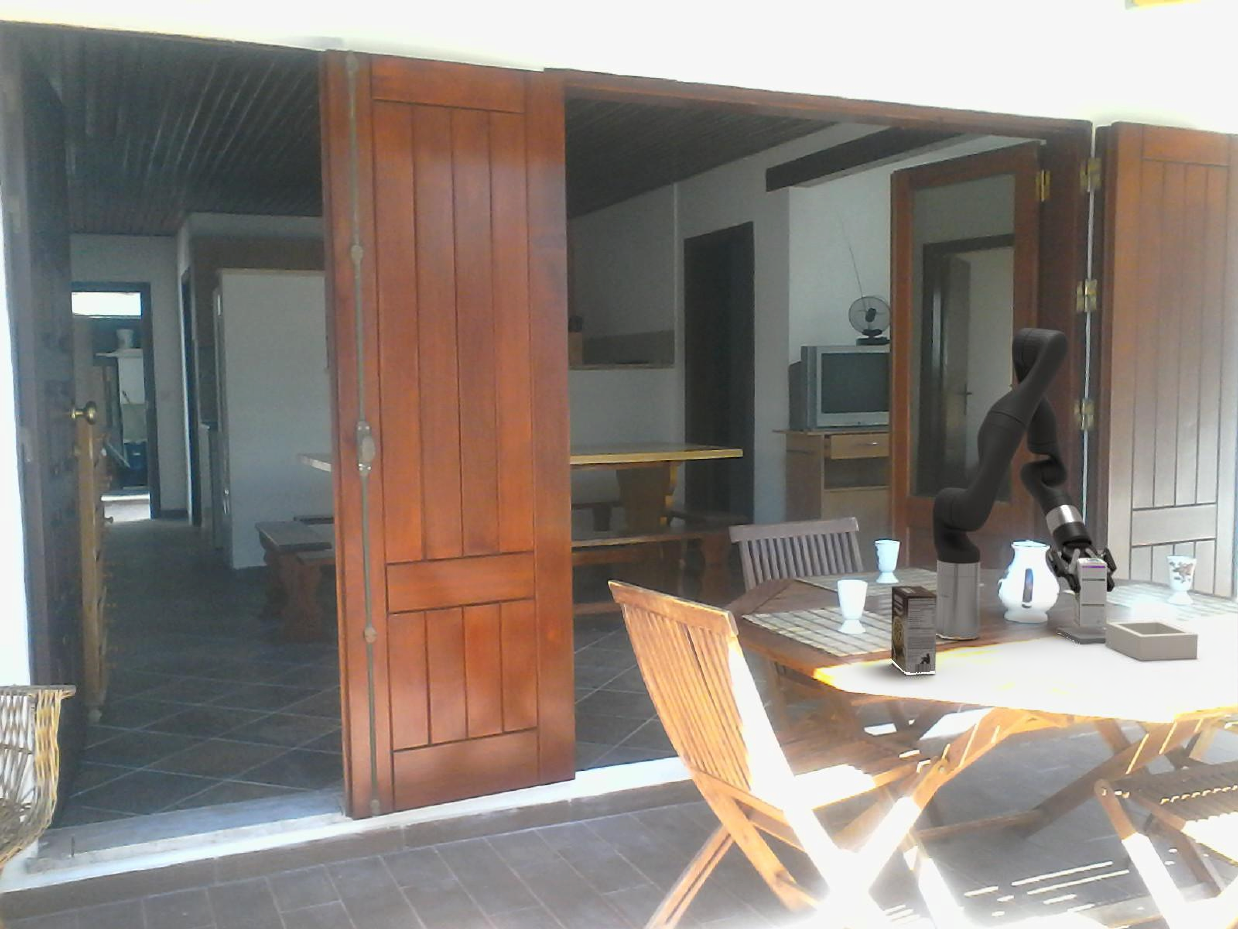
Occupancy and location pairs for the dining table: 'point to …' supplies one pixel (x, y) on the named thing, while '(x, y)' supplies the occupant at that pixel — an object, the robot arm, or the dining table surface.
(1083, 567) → the syrup box
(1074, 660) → the dining table surface
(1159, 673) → the dining table surface
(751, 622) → the dining table surface
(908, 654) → the coffee box
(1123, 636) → the open rectangular tray
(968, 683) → the dining table surface
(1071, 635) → the tile
